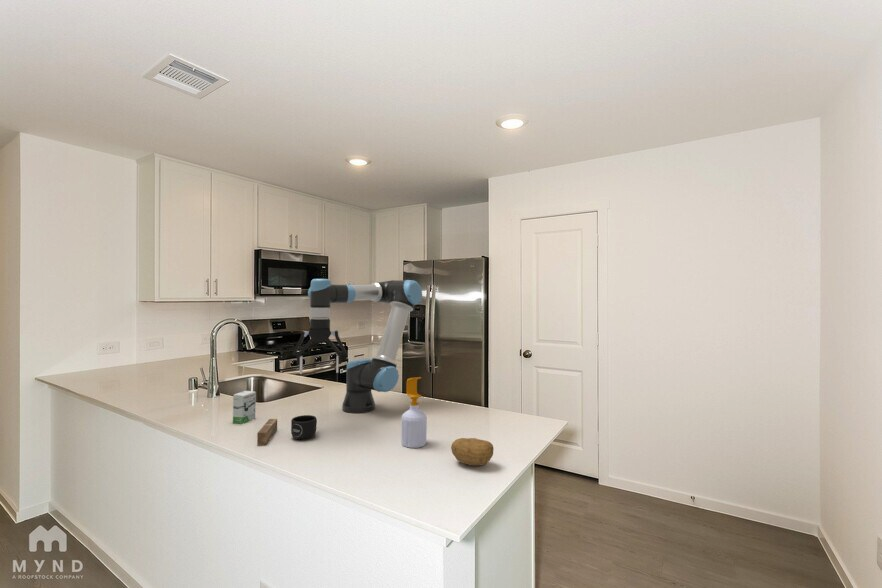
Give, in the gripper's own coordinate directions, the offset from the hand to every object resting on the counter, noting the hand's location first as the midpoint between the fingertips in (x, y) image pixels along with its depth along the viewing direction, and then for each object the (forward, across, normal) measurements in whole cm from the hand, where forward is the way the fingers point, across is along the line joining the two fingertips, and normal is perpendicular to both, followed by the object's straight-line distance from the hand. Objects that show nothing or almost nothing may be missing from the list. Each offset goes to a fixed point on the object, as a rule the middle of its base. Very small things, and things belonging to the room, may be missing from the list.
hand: (319, 372), depth 159 cm
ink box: (+24, +32, -22) cm, 45 cm away
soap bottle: (+24, -35, +19) cm, 46 cm away
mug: (+24, +4, +2) cm, 24 cm away
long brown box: (+23, +18, +2) cm, 30 cm away
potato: (+24, -50, +40) cm, 68 cm away
